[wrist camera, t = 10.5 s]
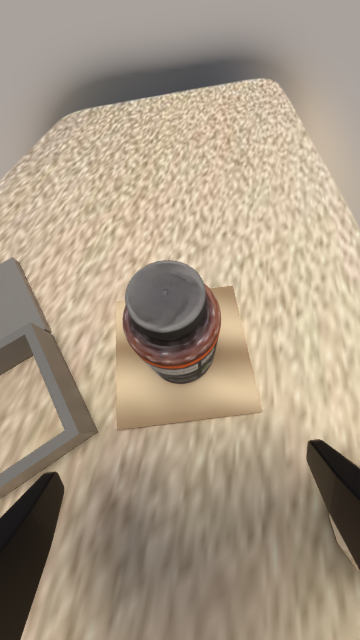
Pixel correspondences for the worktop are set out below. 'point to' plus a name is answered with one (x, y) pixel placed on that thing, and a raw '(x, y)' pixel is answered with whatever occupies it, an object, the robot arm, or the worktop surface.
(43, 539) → the robot arm
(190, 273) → the supplement bottle
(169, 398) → the board
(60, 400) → the case
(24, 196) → the worktop surface
